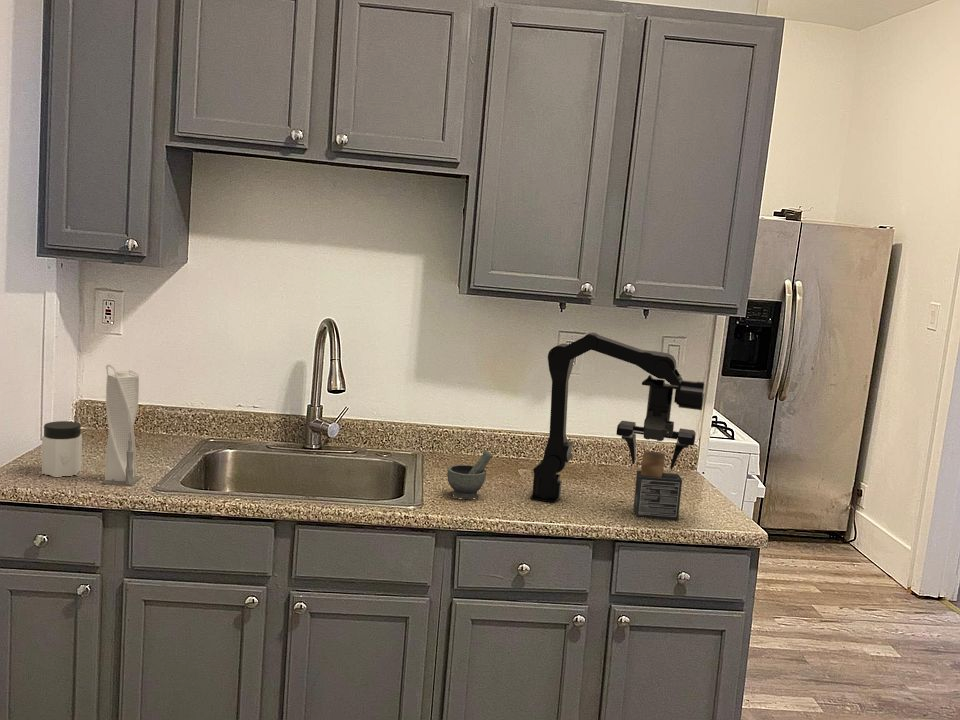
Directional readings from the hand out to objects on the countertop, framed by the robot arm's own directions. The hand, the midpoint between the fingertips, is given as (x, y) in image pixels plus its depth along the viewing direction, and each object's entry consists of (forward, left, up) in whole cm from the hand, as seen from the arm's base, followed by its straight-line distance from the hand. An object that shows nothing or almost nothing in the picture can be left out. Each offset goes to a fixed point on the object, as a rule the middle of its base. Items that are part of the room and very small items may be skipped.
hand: (652, 466), depth 231 cm
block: (0, 0, -2) cm, 2 cm away
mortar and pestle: (-44, -9, -12) cm, 47 cm away
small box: (+2, +1, -12) cm, 13 cm away
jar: (-137, -43, -12) cm, 144 cm away
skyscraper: (-122, -41, -12) cm, 129 cm away
